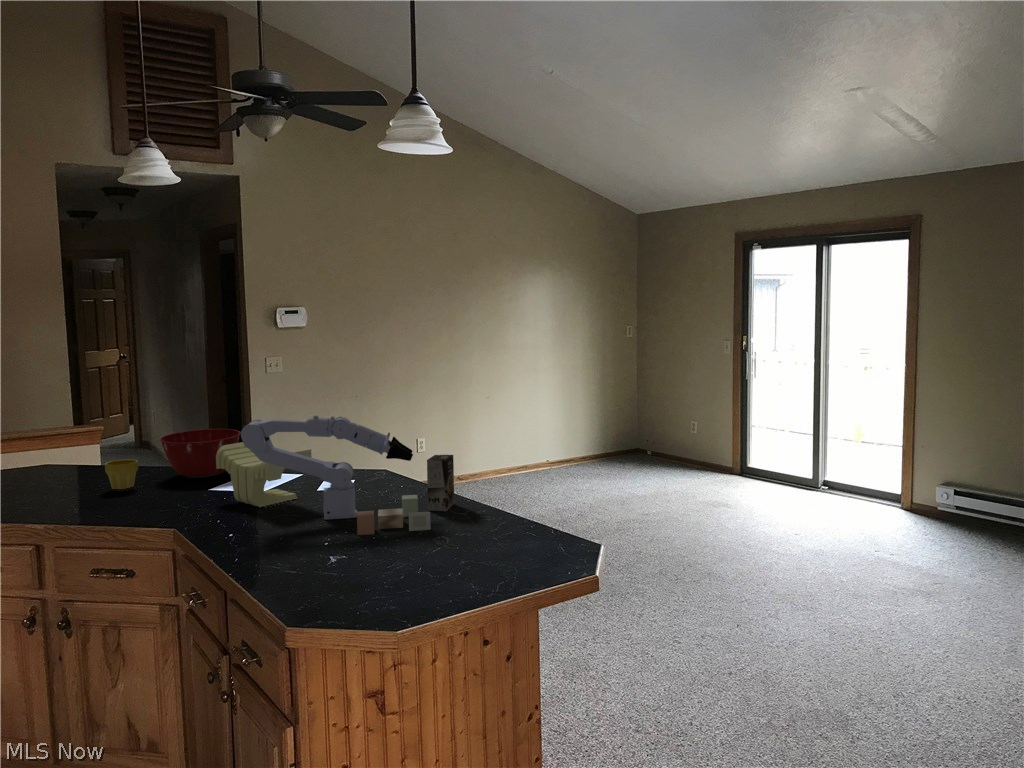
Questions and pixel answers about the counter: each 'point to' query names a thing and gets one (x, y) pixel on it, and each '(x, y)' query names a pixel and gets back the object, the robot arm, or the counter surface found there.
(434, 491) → the coffee box
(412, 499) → the sage block
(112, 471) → the plant pot
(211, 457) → the mixing bowl
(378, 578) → the counter surface
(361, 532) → the terracotta block
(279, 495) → the slatted curved stool
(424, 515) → the placard
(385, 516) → the birch base block
